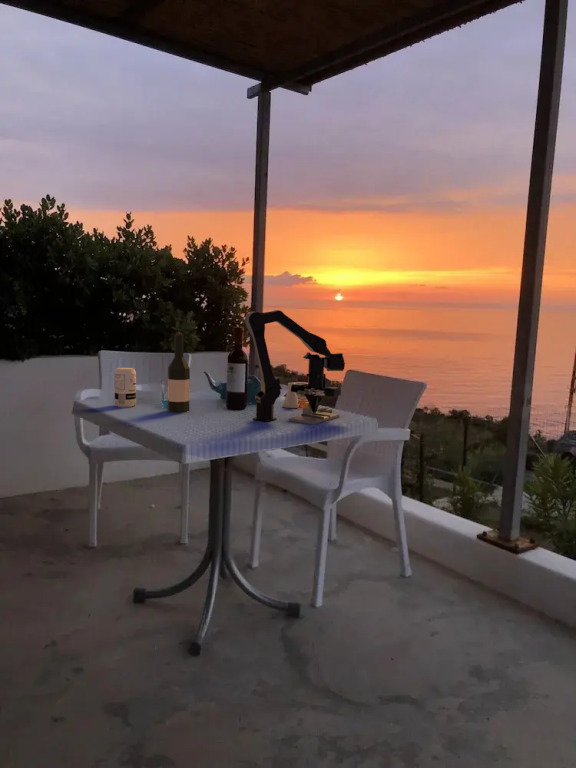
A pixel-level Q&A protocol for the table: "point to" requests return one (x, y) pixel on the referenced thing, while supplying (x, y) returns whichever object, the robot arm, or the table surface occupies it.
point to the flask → (290, 398)
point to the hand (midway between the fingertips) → (314, 412)
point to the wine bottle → (178, 379)
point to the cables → (325, 410)
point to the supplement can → (125, 387)
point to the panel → (314, 418)
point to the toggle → (307, 409)
